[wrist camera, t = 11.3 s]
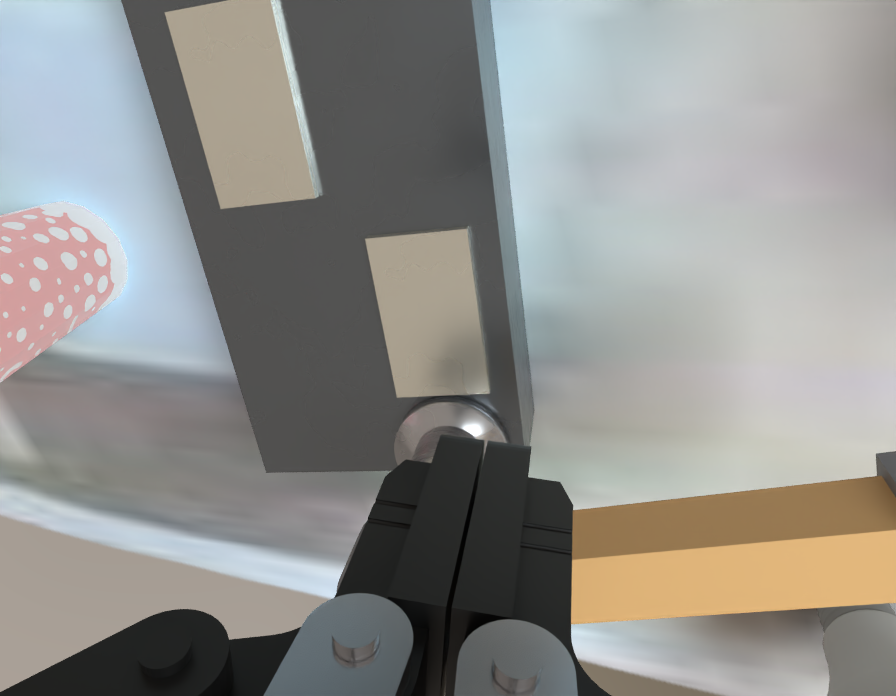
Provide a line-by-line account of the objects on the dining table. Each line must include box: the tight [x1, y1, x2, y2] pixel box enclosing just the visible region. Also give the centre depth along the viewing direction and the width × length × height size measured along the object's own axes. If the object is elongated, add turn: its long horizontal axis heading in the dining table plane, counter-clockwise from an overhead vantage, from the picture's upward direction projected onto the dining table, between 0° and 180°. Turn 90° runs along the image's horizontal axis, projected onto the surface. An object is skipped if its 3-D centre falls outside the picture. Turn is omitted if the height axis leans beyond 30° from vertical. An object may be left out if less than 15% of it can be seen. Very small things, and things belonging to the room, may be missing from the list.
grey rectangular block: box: [121, 0, 534, 473], centre depth 21 cm, size 19×10×9 cm, turn 8°
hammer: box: [337, 451, 896, 624], centre depth 17 cm, size 15×4×2 cm, turn 106°
